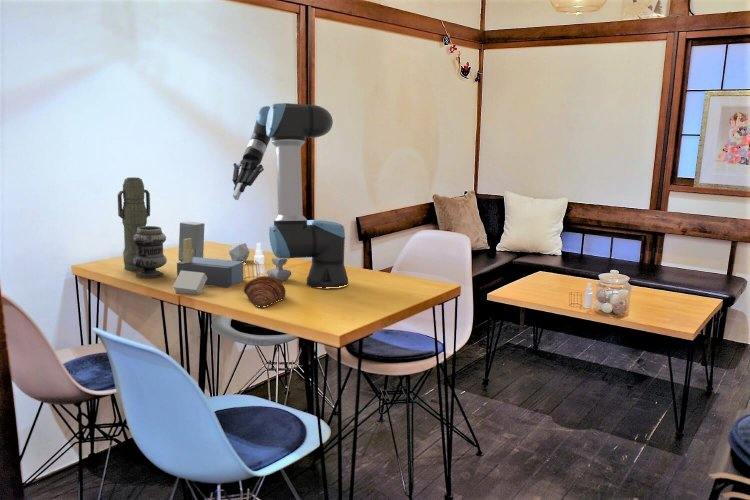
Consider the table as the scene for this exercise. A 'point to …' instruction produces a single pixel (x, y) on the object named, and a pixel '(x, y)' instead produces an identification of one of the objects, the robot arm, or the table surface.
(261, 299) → the brown ridged rounded piece
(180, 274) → the light grey block
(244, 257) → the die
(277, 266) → the stamp
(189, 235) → the skincare box
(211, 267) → the box
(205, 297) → the table surface
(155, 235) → the apothecary jar
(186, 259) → the tan upright block
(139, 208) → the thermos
